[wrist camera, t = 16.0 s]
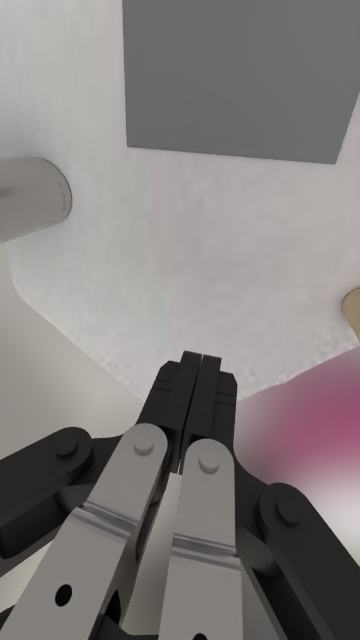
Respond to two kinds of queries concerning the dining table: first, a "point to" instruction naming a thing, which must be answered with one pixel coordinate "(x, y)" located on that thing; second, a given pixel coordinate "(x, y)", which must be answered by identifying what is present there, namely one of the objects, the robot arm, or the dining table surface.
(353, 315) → the candle
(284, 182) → the dining table surface
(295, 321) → the dining table surface
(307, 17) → the mat
